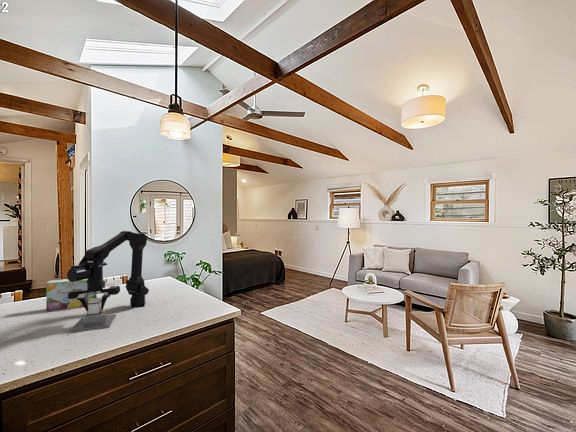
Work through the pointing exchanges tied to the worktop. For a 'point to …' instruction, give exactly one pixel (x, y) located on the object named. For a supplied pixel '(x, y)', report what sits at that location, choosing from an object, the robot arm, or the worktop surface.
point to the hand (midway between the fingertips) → (95, 310)
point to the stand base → (94, 322)
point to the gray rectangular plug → (94, 306)
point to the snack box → (64, 294)
